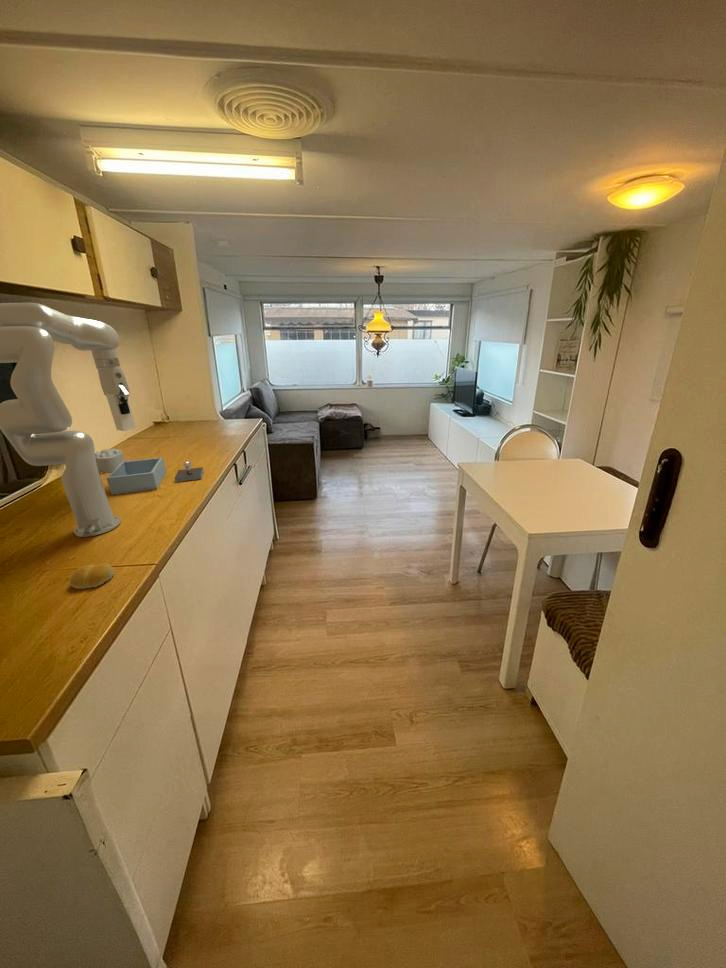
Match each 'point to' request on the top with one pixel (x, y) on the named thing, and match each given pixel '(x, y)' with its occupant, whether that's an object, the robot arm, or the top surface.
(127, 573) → the top surface
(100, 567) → the bread roll
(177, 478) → the stud base
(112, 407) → the strut
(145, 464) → the bin
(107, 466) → the lumpy-topped squat cylinder
